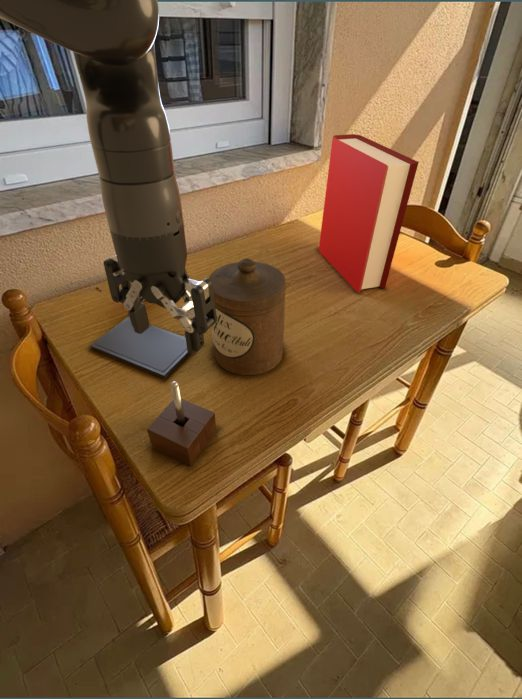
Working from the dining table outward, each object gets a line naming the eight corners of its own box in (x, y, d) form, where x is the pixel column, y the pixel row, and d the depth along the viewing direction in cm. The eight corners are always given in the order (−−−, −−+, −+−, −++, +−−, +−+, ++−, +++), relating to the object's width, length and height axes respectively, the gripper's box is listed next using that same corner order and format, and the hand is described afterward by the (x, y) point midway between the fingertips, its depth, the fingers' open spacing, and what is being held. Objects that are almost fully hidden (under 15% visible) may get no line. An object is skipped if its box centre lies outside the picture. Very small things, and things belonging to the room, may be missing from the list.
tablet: (164, 379, 76) (164, 375, 76) (90, 348, 83) (89, 345, 82) (198, 344, 84) (198, 341, 84) (128, 319, 91) (127, 316, 90)
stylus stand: (190, 466, 62) (187, 448, 58) (151, 447, 64) (146, 428, 61) (216, 430, 67) (214, 412, 64) (179, 414, 69) (176, 396, 66)
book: (384, 289, 103) (418, 161, 82) (358, 293, 101) (386, 164, 80) (339, 245, 123) (357, 133, 102) (316, 248, 121) (330, 135, 100)
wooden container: (201, 346, 84) (191, 255, 69) (256, 323, 91) (257, 235, 76) (238, 386, 75) (235, 291, 60) (296, 357, 82) (305, 266, 67)
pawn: (187, 320, 91) (185, 306, 88) (182, 315, 93) (180, 301, 90) (196, 316, 92) (195, 303, 90) (191, 311, 94) (190, 298, 91)
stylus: (185, 442, 65) (174, 386, 56) (180, 440, 65) (168, 383, 56) (189, 437, 66) (179, 381, 57) (184, 435, 66) (173, 378, 57)
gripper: (67, 218, 39) (106, 339, 50) (180, 249, 34) (197, 375, 45) (119, 196, 44) (144, 310, 55) (224, 220, 39) (229, 340, 50)
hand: (168, 339), depth 50 cm, fingers open, 8 cm apart
